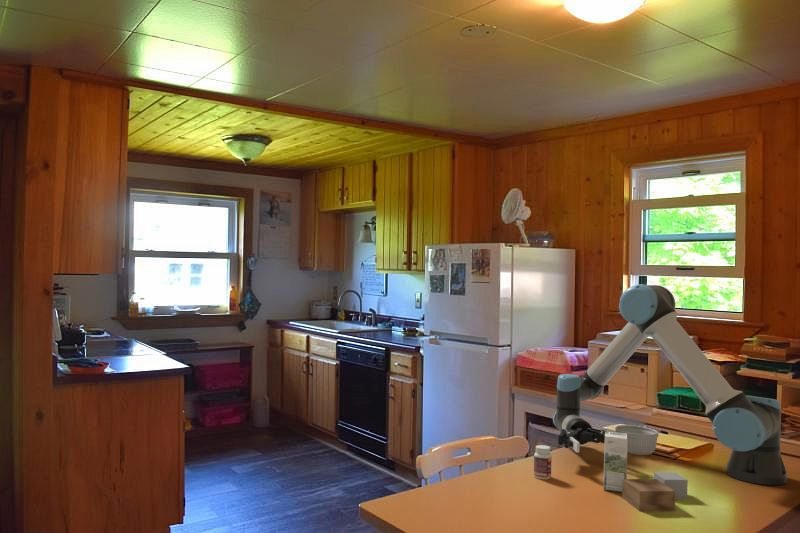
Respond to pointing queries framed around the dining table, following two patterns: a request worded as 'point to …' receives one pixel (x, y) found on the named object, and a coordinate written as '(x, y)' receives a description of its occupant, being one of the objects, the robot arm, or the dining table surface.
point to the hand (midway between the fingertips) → (602, 448)
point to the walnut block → (648, 495)
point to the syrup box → (615, 461)
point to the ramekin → (639, 439)
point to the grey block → (673, 483)
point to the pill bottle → (542, 462)
